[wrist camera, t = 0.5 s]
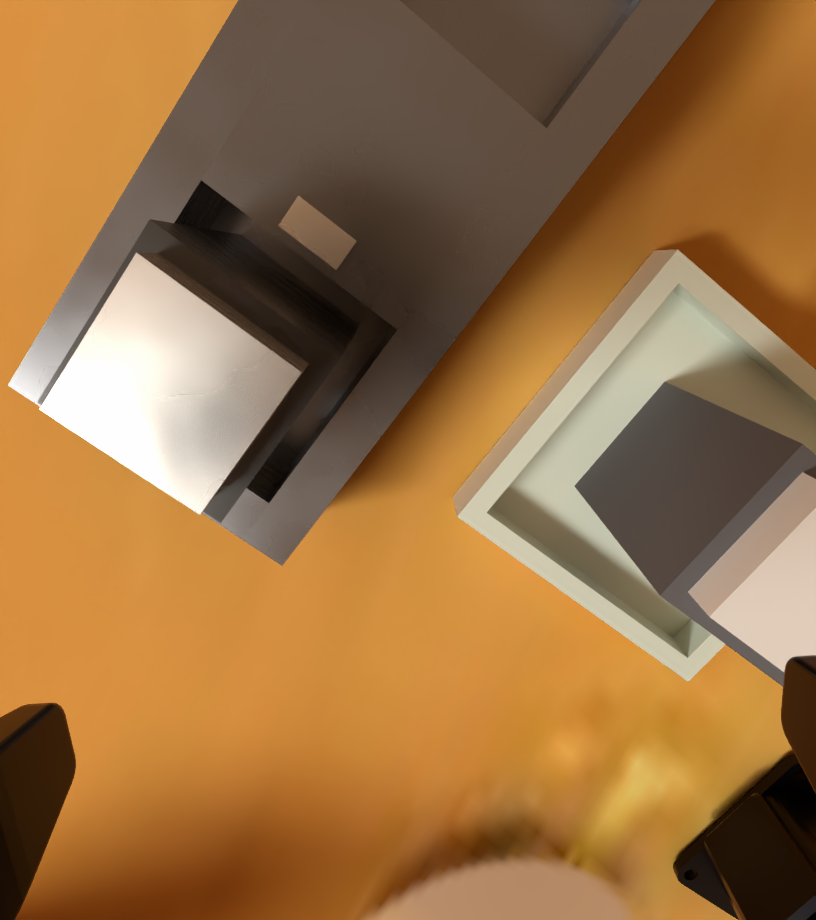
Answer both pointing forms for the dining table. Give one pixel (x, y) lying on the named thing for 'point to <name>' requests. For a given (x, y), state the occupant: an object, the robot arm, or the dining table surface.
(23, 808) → the robot arm
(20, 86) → the dining table surface
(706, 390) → the tray
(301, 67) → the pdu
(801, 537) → the plug
